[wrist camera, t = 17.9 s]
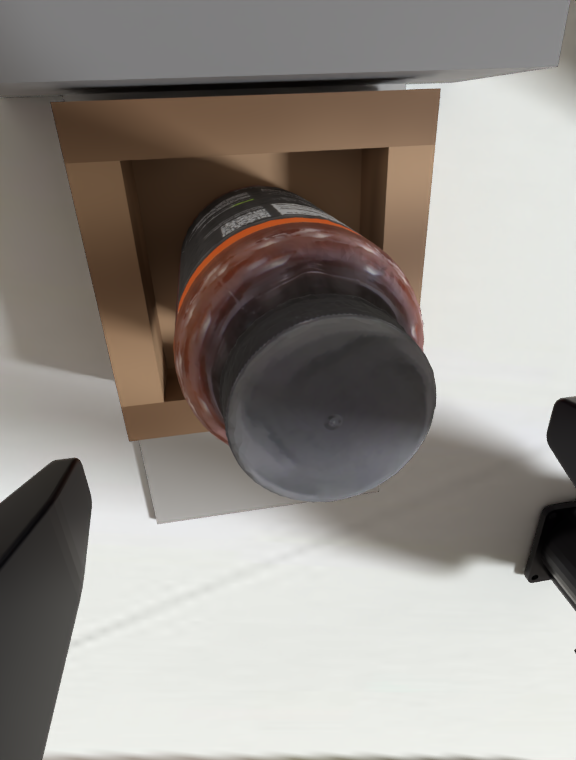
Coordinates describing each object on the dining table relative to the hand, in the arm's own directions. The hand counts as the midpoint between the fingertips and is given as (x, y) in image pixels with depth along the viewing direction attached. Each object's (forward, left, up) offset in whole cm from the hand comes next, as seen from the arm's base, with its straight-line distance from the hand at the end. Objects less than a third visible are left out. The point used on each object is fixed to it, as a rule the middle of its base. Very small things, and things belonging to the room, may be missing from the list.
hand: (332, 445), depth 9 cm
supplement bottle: (+1, 0, -12) cm, 12 cm away
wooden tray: (+1, 0, -12) cm, 12 cm away
